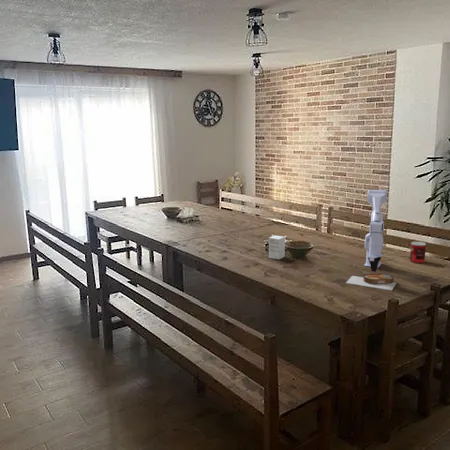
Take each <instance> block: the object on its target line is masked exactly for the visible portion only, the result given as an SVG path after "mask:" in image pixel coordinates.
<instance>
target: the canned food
mask: <svg viewBox="0 0 450 450" xmlns="http://www.w3.org/2000/svg"><path fill="white" fill-rule="evenodd" d="M426 249H427V244H426V242H423V241H411V243H410V253H409V254H410V255H409V261H410V262H411V263H413V264H423V263H425V261H426V252H427V251H426Z"/></svg>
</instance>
